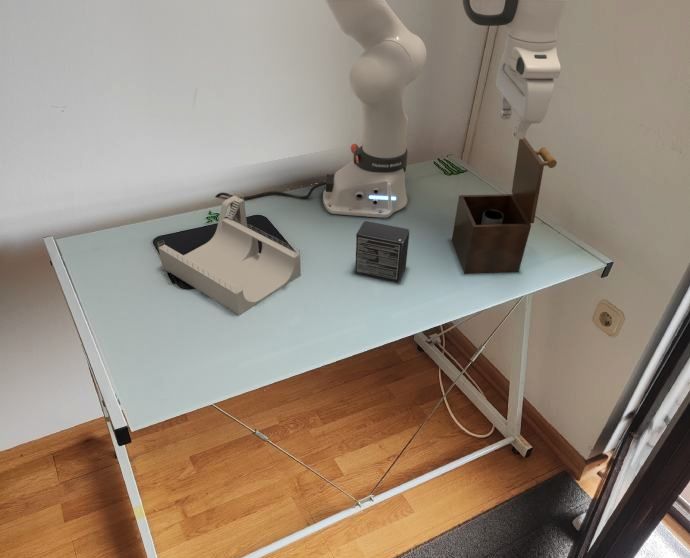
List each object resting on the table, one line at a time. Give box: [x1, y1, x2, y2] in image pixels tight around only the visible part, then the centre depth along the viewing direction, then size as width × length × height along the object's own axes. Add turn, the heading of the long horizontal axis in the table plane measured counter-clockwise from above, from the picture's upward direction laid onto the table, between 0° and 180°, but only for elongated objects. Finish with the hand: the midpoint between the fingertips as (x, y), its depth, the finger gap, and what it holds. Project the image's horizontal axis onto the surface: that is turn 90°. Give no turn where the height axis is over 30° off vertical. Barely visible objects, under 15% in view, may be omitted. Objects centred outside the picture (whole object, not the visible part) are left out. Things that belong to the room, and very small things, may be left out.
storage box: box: [450, 193, 532, 275], centre depth 132 cm, size 13×14×12 cm
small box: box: [354, 220, 411, 284], centre depth 128 cm, size 11×6×10 cm, turn 71°
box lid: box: [511, 137, 558, 225], centre depth 124 cm, size 13×14×5 cm
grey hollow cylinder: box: [481, 209, 504, 225], centre depth 132 cm, size 4×4×10 cm
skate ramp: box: [157, 190, 302, 316], centre depth 128 cm, size 25×23×10 cm
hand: (511, 127), depth 116 cm, fingers open, 8 cm apart
